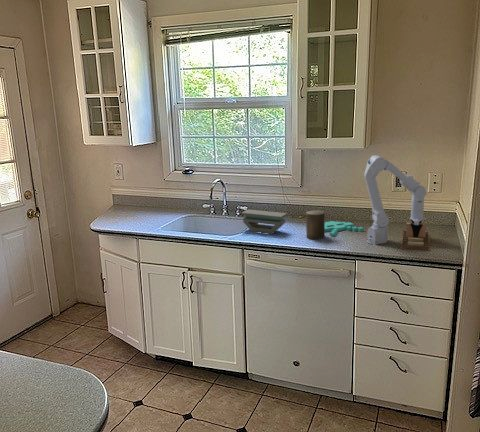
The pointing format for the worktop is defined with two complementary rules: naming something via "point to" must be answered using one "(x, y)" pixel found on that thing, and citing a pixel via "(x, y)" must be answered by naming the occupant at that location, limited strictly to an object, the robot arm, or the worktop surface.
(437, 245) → the worktop surface
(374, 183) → the robot arm
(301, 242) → the worktop surface
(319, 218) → the pillar candle
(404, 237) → the rack
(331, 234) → the teal pixel toy sword
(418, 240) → the offcut
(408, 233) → the salmon rectangular slab
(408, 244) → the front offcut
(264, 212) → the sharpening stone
